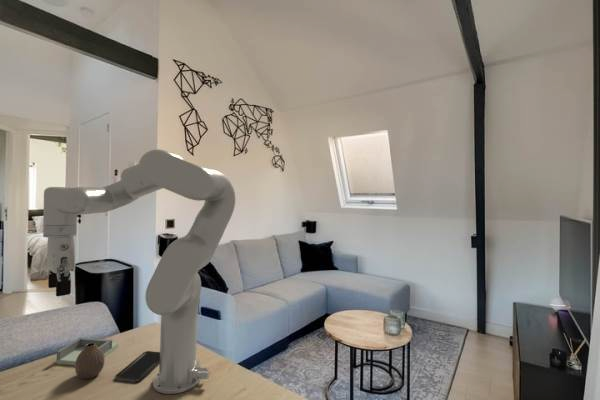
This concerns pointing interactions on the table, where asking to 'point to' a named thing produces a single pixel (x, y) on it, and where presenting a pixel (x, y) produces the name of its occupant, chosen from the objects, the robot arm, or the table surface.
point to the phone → (139, 367)
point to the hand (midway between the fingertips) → (59, 290)
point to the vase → (89, 362)
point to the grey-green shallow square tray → (75, 348)
